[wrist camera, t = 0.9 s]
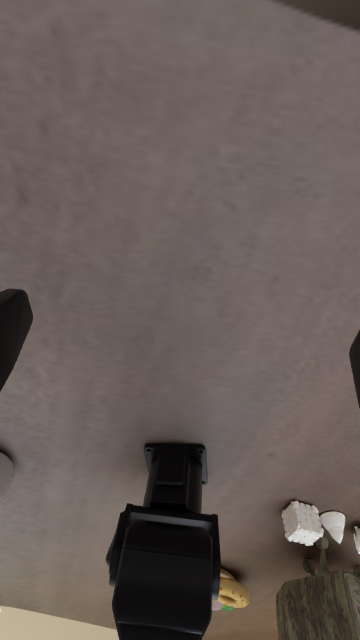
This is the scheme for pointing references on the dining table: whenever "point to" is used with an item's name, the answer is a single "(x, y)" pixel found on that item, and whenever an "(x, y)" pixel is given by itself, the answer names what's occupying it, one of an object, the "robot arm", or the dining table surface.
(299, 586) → the tabletop clock
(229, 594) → the toy food set
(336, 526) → the game pieces
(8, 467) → the metal bottle
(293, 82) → the dining table surface
